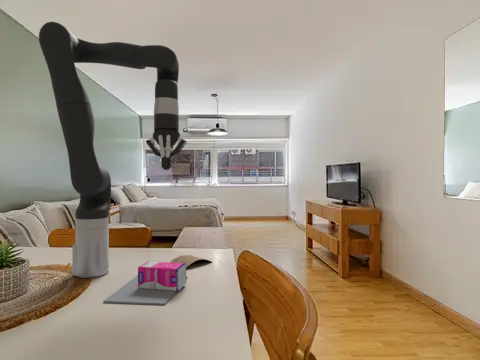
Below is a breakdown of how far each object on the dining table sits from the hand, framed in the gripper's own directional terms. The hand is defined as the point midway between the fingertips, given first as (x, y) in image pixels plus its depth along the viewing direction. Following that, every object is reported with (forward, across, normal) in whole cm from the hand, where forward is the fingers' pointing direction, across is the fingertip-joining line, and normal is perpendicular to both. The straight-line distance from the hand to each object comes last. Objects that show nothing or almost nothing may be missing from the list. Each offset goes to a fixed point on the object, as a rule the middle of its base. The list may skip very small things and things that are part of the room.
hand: (166, 169), depth 98 cm
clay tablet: (+33, -5, -10) cm, 35 cm away
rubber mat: (+32, 0, +15) cm, 35 cm away
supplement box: (+29, -9, +15) cm, 34 cm away
